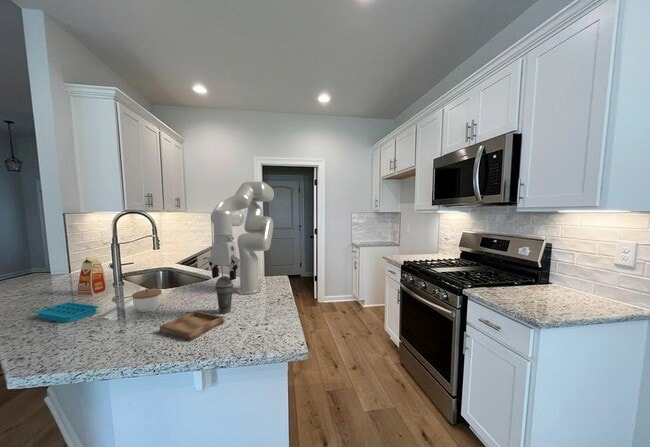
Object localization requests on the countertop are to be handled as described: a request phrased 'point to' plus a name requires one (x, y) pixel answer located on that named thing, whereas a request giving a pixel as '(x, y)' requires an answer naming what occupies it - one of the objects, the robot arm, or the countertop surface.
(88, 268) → the milk carton
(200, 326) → the walnut tray
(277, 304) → the countertop surface
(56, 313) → the ice cube tray
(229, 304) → the beverage cup
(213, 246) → the robot arm
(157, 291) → the lidded jar
